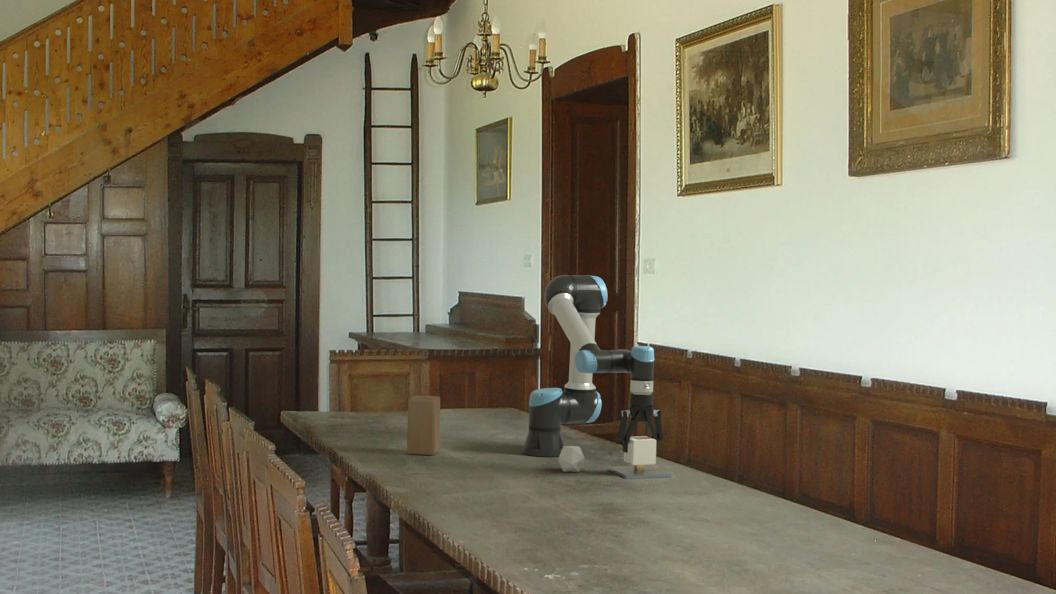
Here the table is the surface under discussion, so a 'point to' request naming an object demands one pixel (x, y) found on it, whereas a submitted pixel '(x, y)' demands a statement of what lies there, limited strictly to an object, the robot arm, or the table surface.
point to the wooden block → (423, 425)
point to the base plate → (639, 472)
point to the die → (571, 458)
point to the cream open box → (642, 450)
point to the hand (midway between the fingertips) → (639, 461)
